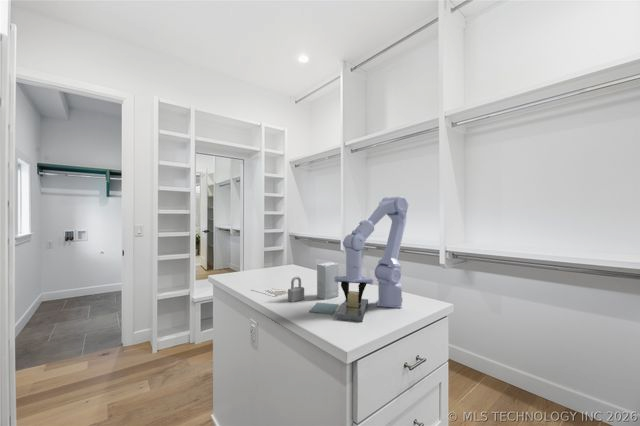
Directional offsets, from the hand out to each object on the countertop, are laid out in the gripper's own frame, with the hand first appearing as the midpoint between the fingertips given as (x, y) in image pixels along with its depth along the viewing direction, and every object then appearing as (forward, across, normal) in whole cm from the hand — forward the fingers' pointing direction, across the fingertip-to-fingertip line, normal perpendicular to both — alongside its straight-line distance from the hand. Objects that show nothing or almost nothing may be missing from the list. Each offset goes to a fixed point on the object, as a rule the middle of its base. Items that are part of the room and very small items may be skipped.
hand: (353, 302), depth 108 cm
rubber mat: (+3, -12, 0) cm, 12 cm away
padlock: (+4, -26, +8) cm, 27 cm away
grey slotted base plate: (+3, 0, 0) cm, 3 cm away
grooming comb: (+4, -43, +18) cm, 47 cm away
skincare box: (+4, -14, +16) cm, 22 cm away
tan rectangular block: (+3, 0, 0) cm, 3 cm away
